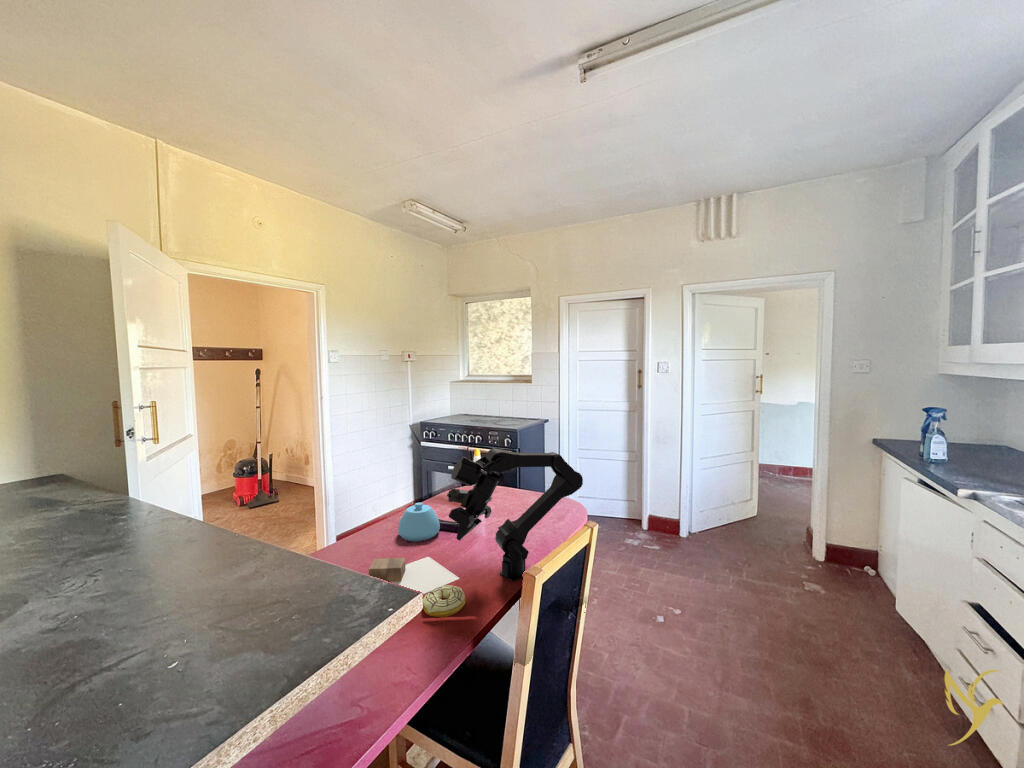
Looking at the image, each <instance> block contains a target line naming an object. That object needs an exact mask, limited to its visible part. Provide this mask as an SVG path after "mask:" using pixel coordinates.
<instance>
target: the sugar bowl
mask: <svg viewBox="0 0 1024 768" xmlns="http://www.w3.org/2000/svg"><path fill="white" fill-rule="evenodd" d="M434 510H435V509H433V508H432V507H431V506H430V505H429V504H428V505H427V504H424V503H423V502H416V503H414V505H411V506H409V507H407V508H406V510H404V513H402V516H401V518H400V519H399V523H398V528H397V529H398V530H397V533H398V535H399V536H400V537H401V538H402V539H403V540H405V541H407V540H408V541H409V542H423V541H422V540H424V541H427V540H430V539H432V538H434V537H435V536H436V535H437V534H438V533H439V531H440V528H441V526H440V525H441V524H440V520H439V517H438V515H437V514H436V512H435V511H434Z"/></svg>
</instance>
